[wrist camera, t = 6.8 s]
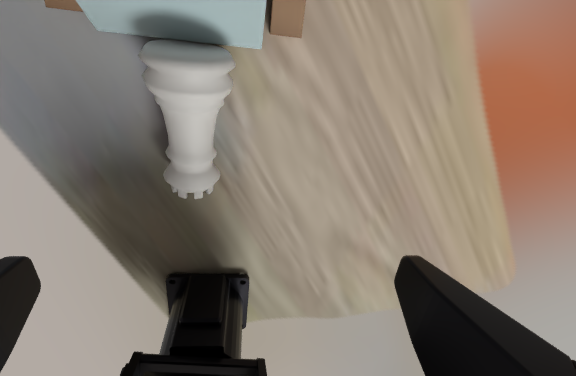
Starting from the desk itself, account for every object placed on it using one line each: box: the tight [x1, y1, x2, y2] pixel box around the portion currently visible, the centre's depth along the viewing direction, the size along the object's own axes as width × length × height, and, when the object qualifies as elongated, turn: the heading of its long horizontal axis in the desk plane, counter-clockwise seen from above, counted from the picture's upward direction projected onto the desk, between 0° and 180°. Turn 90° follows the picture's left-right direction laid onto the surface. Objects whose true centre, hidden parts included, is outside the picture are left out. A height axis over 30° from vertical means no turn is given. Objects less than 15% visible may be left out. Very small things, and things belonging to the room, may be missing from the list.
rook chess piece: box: [138, 39, 235, 199], centre depth 17 cm, size 4×4×8 cm
